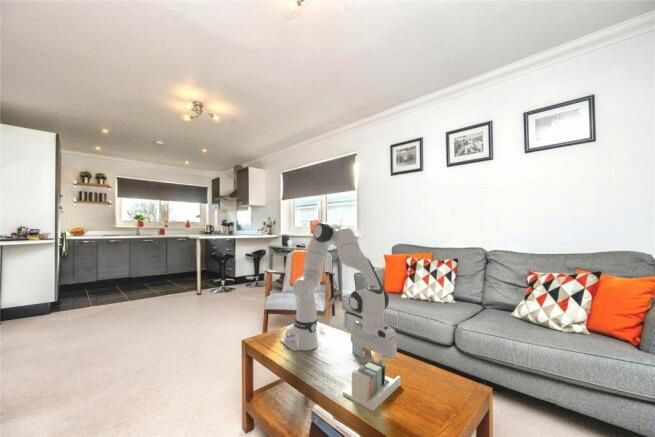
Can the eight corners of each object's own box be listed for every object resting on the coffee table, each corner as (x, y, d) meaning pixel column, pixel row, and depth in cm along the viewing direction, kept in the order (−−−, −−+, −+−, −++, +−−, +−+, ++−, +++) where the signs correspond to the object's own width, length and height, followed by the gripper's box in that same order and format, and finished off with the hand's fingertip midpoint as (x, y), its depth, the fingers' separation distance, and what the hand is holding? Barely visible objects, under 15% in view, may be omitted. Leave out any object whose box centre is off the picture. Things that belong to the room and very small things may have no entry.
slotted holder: (342, 394, 105) (343, 369, 106) (371, 372, 122) (372, 350, 122) (373, 411, 96) (374, 383, 96) (400, 385, 113) (400, 361, 113)
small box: (359, 357, 136) (360, 331, 136) (351, 352, 141) (352, 327, 142) (371, 353, 140) (372, 328, 141) (363, 348, 146) (364, 324, 146)
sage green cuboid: (363, 385, 110) (364, 365, 110) (368, 381, 113) (369, 362, 113) (376, 391, 106) (376, 371, 106) (381, 387, 109) (381, 367, 109)
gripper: (348, 321, 114) (346, 354, 114) (391, 336, 101) (390, 373, 100) (356, 318, 119) (355, 349, 119) (399, 331, 106) (397, 367, 105)
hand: (371, 360), depth 109 cm, fingers open, 8 cm apart
